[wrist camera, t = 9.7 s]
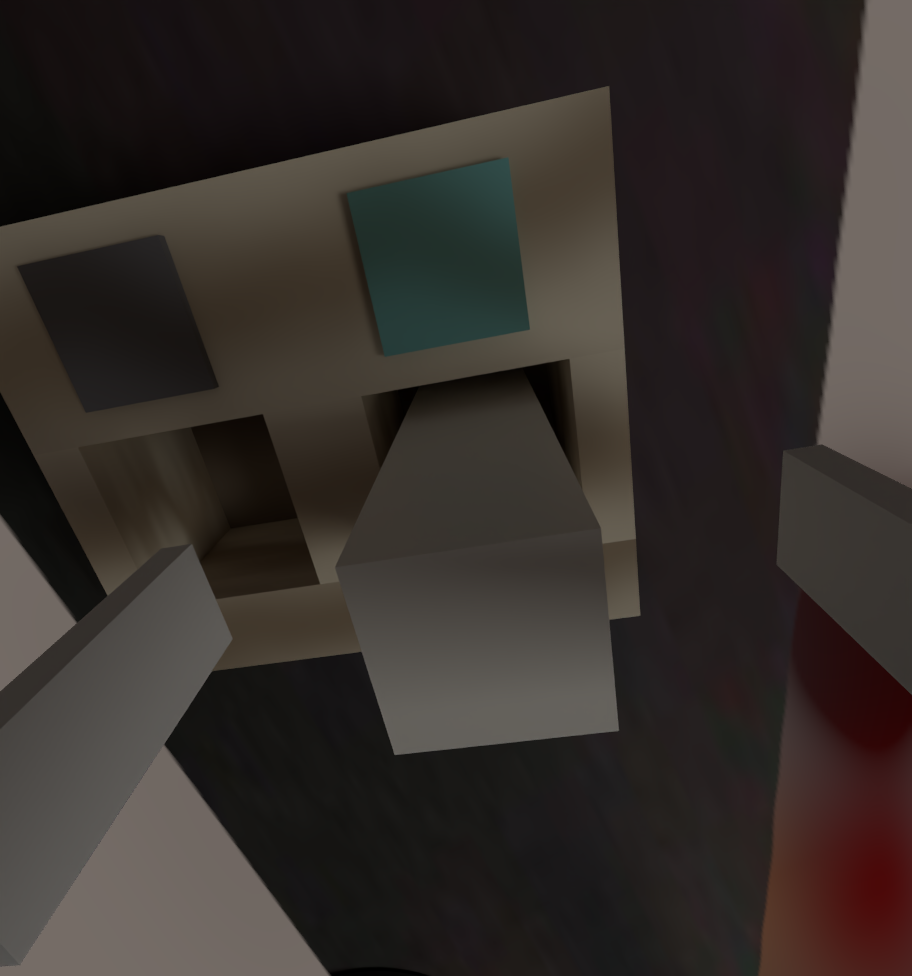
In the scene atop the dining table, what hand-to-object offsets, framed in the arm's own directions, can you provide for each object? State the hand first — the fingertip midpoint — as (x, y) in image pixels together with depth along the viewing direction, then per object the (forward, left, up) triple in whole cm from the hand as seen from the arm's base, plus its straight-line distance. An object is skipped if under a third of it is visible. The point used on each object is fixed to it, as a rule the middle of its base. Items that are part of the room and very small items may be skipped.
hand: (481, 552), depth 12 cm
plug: (0, 0, -11) cm, 11 cm away
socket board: (+2, +4, -12) cm, 12 cm away
